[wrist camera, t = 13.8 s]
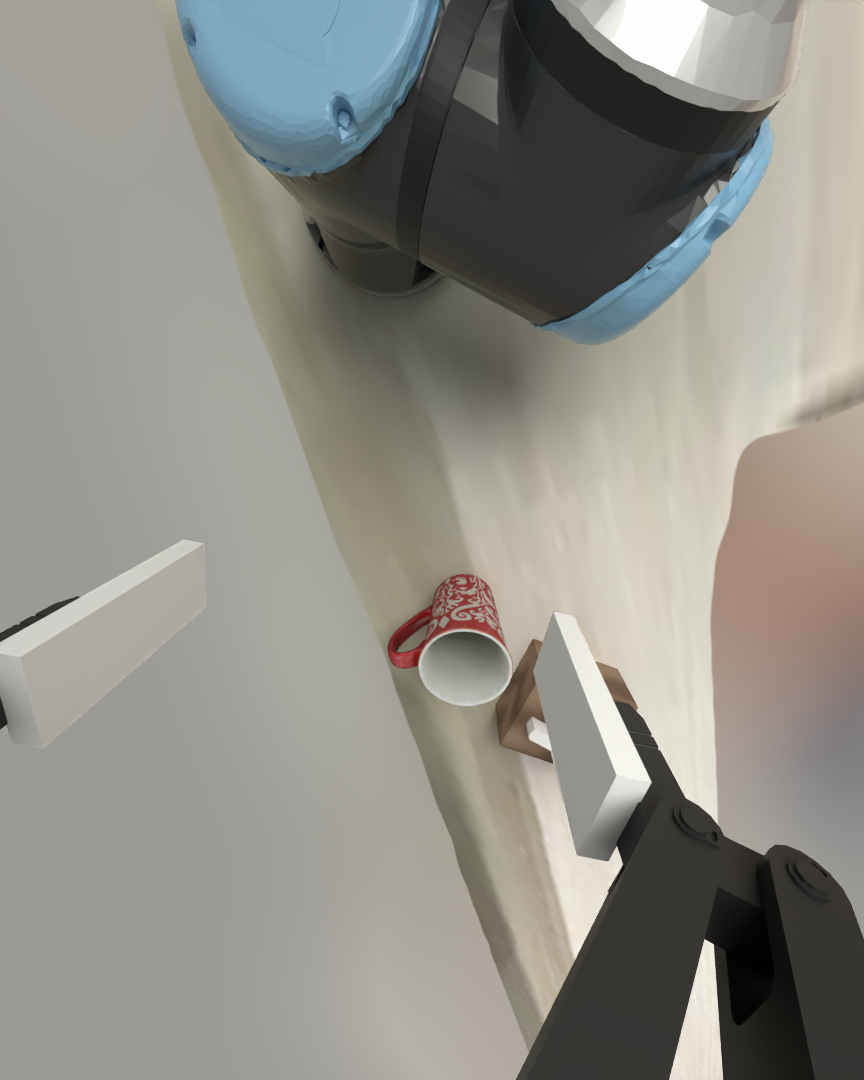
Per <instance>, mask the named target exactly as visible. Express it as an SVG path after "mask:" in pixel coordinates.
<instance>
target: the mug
mask: <svg viewBox="0 0 864 1080" xmlns="http://www.w3.org/2000/svg"><path fill="white" fill-rule="evenodd" d="M428 623H429V626H428V630H427V635H426V639H425V640H423V641H422V643H421V644H420V645H419V646H418V647H416V648H415V649H413V650H411V651H408V652H397V650H398V649H399V647H400V646H401V644H402V643H403V642H404V641H406V640H407V639H408V638H409V637H410V636H411V635H412V634H414V633H415V632H416V631H418V630H419V629H420V628H422V627H423V626H425V625H426V624H428ZM388 655H389V658H390V660H391V662H392V664H393V665H394V666H396V667H399V668H412V667H415V666H418V671H419V675H420V678H421V680H422V682H423V684H424V685H425V687H426V688H427V689H428V691H429V692H430V693H431V694H432V695H434V696H435V697H437V698H438V699H440V700H442V701H444V702H446V703H449V704H453V705H457V706H476V705H481V704H484V703H487V702H489V701H491V700H493V699H495V698H496V697H498V696H499V695H500V694H501V693H502V692H504V690H505V689H506V688H507V686H508V684H509V682H510V680H511V677H512V672H513V664H512V659H511V656H510V654H509V652H508V650H507V648H506V644H505V640H504V637H503V633H502V628H501V626H500V622H499V618H498V614H497V610H496V607H495V603H494V599H493V595H492V592H491V590H490V588H489V586H488V585H487V584H486V583H485V582H484V581H483V580H481V579H479V578H478V577H475V576H472V575H463V574H461V575H456V576H453V577H450V578H448V579H447V580H445V581H444V582H443V583H442V584H441V585H440V586H439V588H438V590H437V592H436V595H435V599H434V603H433V604H432V605H431V606H430V607H428V608H427V609H425V610H423V611H421V612H420V613H418V614H417V615H415V616H414V617H412V618H411V619H410V620H408V621H407V622H406V623H405V624H403V625H402V626H401V627H400V628H399V629H398V630H397V631H396V632H395V633H394V634H393V636H392V637H391V639H390V641H389V644H388Z"/></svg>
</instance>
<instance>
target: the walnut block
mask: <svg viewBox="0 0 864 1080" xmlns="http://www.w3.org/2000/svg"><path fill="white" fill-rule="evenodd" d="M542 644H543V642H541V641H538V640H535V639H533V640H532V642H531V644H530V645H529V647H528V649H527V651H526V653H525V654H524V656H523V658H522V660H521V661H520V663H519V665H518V667H517V669H516V670H515V672H514V674H513V676H512V677H511V680H510V682H509V684H508V686H507V688H506V689H505V690H504V692H503V693H502V695H501V697H500V699H499V701H498V702H497V704H496V711H497V722H498V732H499V742H500V746H503V747H506V748H509V749H512V750H515V751H518V752H521V753H524V754H527V755H530V756H533V757H535V758H538V759H541V760H544V761H547V762H550V763H553V759H552V755H551V751H550V750H548V749H546V748H544V747H542V746H540V745H539V744H537V743H535V742H533V741H531V740H530V739H529V737H528V731H527V726H526V723H527V722H528V721H529V720H530V718H531V717H534V718H536V719H538V720H539V721H541V722H543V723H545V719H544V715H543V711H542V706H541V702H540V698H539V694H538V689H537V685H536V681H535V677H534V673H533V670H534V667H535V664H536V661H537V658H538V656H539V653H540V650H541V647H542ZM595 662H596V661H595ZM596 664H597V667H598V669H599V671H600V673H601V675H602V677H603V679H604V682H605V684H606V686H607V688H608V690H609V692H610V694H611V696H612V699H613V701H618V702H623V703H628V704H630V705H631V706H632V707H633V708H634V709H635V710H637V708H638V707H637V705H636V703H635V701H634V699H633V697H632V695H631V694H630V692H629V690H628V688H627V686H626V684H625V682H624V680H623V679H622V677H621V675H620V673H619V671H618V669H615V668H613V667H610V666H607V665H604V664H602V663H599V662H596ZM545 724H546V723H545ZM553 764H554V763H553Z"/></svg>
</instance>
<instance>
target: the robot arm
mask: <svg viewBox="0 0 864 1080" xmlns="http://www.w3.org/2000/svg"><path fill="white" fill-rule="evenodd" d="M175 1H176V7H177V12H178V17H179V21H180V26H181V30H182V34H183V37H184V40H185V42H186V44H187V47H188V51H189V54H190V56H191V58H192V61H193V63H194V66H195V68H196V71H197V75H198V77H199V79H200V81H201V83H202V85H203V87H204V89H205V91H206V92H207V94H208V96H209V97H210V99H211V100H212V102H213V104H214V105H215V106H216V108H217V109H218V111H219V112H220V113H221V115H222V116H223V118H224V119H225V120H226V122H227V123H228V125H229V127H230V129H231V130H232V131H233V133H234V135H235V136H236V138H237V140H238V141H239V142H240V143H241V144H242V145H243V147H244V149H245V150H246V151H247V153H248V154H250V155H251V156H253V157H254V158H256V159H257V161H258V162H259V163H260V164H261V165H263V166H264V167H266V168H267V169H268V170H269V171H270V172H271V173H272V174H273V176H274V177H275V178H276V179H277V180H278V181H279V182H280V183H281V184H282V185H283V186H284V187H285V188H286V189H287V190H288V192H289V193H290V194H291V195H292V196H293V197H294V198H295V199H296V200H297V201H298V202H299V203H300V204H301V205H302V210H303V214H304V218H305V221H306V224H307V227H308V230H309V232H310V235H311V237H312V239H313V241H314V243H315V245H316V246H317V248H318V250H319V252H320V253H321V255H322V256H323V258H324V259H325V260H326V261H327V263H328V264H329V265H330V266H331V267H332V268H333V269H334V270H335V271H336V272H337V273H338V274H339V275H340V276H341V277H342V278H344V279H345V280H346V281H347V282H348V283H350V284H351V285H353V286H354V287H356V288H357V289H359V290H361V291H363V292H366V293H368V294H371V295H374V296H378V297H385V298H399V297H406V296H410V295H413V294H416V293H419V292H421V291H423V290H425V289H427V288H428V287H430V286H431V285H433V284H434V283H436V282H437V281H438V280H439V279H440V278H441V277H442V276H443V275H445V276H447V277H448V278H450V279H452V280H454V281H456V282H458V283H460V284H461V285H463V286H465V287H467V288H469V289H471V290H473V291H475V292H476V293H478V294H480V295H482V296H484V297H486V298H488V299H489V300H491V301H493V302H495V303H497V304H499V305H501V306H503V307H504V308H506V309H508V310H510V311H512V312H514V313H516V314H517V315H519V316H521V317H523V318H525V319H527V320H529V322H530V323H531V325H533V326H534V327H536V328H537V329H539V328H541V329H542V330H547V331H553V332H555V333H557V334H559V335H561V336H564V337H566V338H568V339H570V340H572V341H574V342H577V343H580V344H587V345H593V344H602V343H605V342H608V341H611V340H613V339H615V338H617V337H619V336H621V335H623V334H625V333H626V332H628V331H630V330H631V329H633V328H634V327H636V326H637V325H638V324H640V323H641V322H642V321H643V320H645V319H646V318H647V317H648V316H650V315H651V314H652V313H653V312H654V311H656V310H657V309H658V308H659V307H660V306H661V305H662V304H663V303H664V302H665V301H667V300H668V299H669V298H670V297H671V296H672V295H673V294H674V293H675V292H676V291H677V290H678V289H679V288H680V287H681V286H682V285H683V284H684V283H685V282H686V281H687V280H688V278H689V277H690V276H691V275H692V274H693V273H694V272H695V271H696V270H697V269H698V267H699V266H700V265H701V264H702V263H703V262H704V261H705V259H706V258H707V257H708V255H709V254H710V253H711V251H710V248H711V246H712V244H713V242H714V241H715V240H716V239H717V238H718V237H719V236H720V235H722V234H723V233H724V232H725V231H726V230H728V229H729V228H730V227H731V226H732V225H733V223H734V222H735V220H736V219H737V217H738V216H739V215H740V213H741V212H742V210H743V209H744V207H745V206H746V205H747V203H748V202H749V200H750V198H751V197H752V195H753V193H754V192H755V190H756V188H757V187H758V185H759V183H760V181H761V179H762V177H763V175H764V173H765V171H766V169H767V166H768V164H769V161H770V157H771V153H772V147H773V138H774V137H773V132H772V130H771V128H770V122H769V118H767V116H768V115H769V113H770V112H771V111H772V110H773V108H774V107H775V106H776V105H777V103H778V102H779V101H780V100H781V98H782V97H783V96H784V95H785V93H786V92H787V90H788V89H789V88H790V86H791V85H792V84H793V82H794V81H795V79H796V76H797V73H798V71H799V64H800V57H801V50H802V44H803V37H804V30H805V23H806V17H807V10H808V4H809V1H810V0H175ZM205 608H206V579H205V552H204V543H199V542H194V541H189V540H182V541H180V542H179V543H177V544H175V545H173V546H171V547H170V548H168V549H166V550H164V551H163V552H161V553H159V554H157V555H155V556H154V557H152V558H150V559H148V560H146V561H145V562H143V563H141V564H139V565H138V566H136V567H134V568H132V569H130V570H129V571H127V572H125V573H123V574H121V575H120V576H118V577H116V578H114V579H112V580H111V581H109V582H107V583H105V584H104V585H102V586H100V587H98V588H96V589H94V590H93V591H91V592H89V593H87V594H86V595H84V596H82V597H78V596H77V597H74V598H71V599H68V600H65V601H62V602H59V603H56V604H53V605H51V606H50V607H48V608H46V609H44V610H42V611H40V612H38V613H37V614H36V615H35V616H31V617H29V618H27V619H25V620H24V621H22V622H20V624H19V625H14V626H12V627H11V628H9V629H7V630H5V631H3V632H1V633H0V729H1V728H3V727H4V726H5V725H7V727H8V731H9V734H10V737H11V741H12V743H16V744H20V745H25V746H30V747H35V748H40V749H43V748H45V747H46V746H47V745H48V744H49V743H50V742H51V741H53V740H54V739H55V738H56V737H57V736H59V735H60V734H61V733H62V732H63V731H64V730H65V729H66V728H68V727H69V726H70V725H71V724H72V723H74V722H75V721H76V720H77V719H78V718H79V717H80V716H81V715H83V714H84V713H85V712H86V711H87V710H88V709H89V708H91V707H92V706H93V705H94V704H95V703H96V702H98V701H99V700H100V699H101V698H102V697H103V696H105V695H106V694H107V693H108V692H109V691H110V690H111V689H113V688H114V687H115V686H116V685H117V684H118V683H120V682H121V681H122V680H123V679H124V678H125V677H126V676H127V675H129V674H130V673H131V672H132V671H133V670H135V669H136V668H137V667H138V666H139V665H140V664H141V663H143V662H144V661H145V660H146V659H147V658H148V657H149V656H150V655H152V654H153V653H154V652H155V651H156V650H157V649H159V648H160V647H161V646H162V645H163V644H164V643H166V642H167V641H168V640H169V639H170V638H171V637H173V636H174V635H175V634H176V633H177V632H178V631H179V630H181V629H182V628H183V627H184V626H185V625H186V624H187V623H189V622H190V621H191V620H192V619H193V618H194V617H195V616H197V615H198V614H199V613H200V612H201V611H202V610H204V609H205ZM533 673H534V677H535V681H536V685H537V689H538V694H539V698H540V702H541V706H542V711H543V715H544V719H545V723H546V727H547V732H548V736H549V740H550V744H551V749H552V753H553V757H554V761H555V765H556V770H557V774H558V778H559V782H560V786H561V791H562V795H563V799H564V803H565V808H566V812H567V816H568V820H569V824H570V829H571V833H572V837H573V841H574V846H575V850H576V854H577V855H578V856H583V857H588V858H594V859H599V860H604V861H609V859H610V857H611V855H612V854H613V852H614V850H615V848H616V846H617V847H618V850H619V853H620V856H621V859H622V862H623V866H622V868H621V869H620V871H619V873H618V874H617V876H616V878H615V880H614V881H613V883H612V885H611V887H610V888H609V890H608V892H609V893H608V895H607V897H606V899H605V901H604V903H603V905H602V907H601V909H600V911H599V913H598V915H597V917H596V919H595V921H594V923H593V925H592V927H591V929H590V931H589V933H588V935H587V937H586V939H585V941H584V943H583V945H582V947H581V949H580V952H579V954H578V956H577V958H576V960H575V962H574V964H573V966H572V968H571V970H570V972H569V974H568V976H567V978H566V980H565V982H564V984H563V986H562V988H561V990H560V992H559V994H558V996H557V998H556V1000H555V1002H554V1004H553V1006H552V1008H551V1010H550V1012H549V1014H548V1016H547V1018H546V1020H545V1022H544V1024H543V1026H542V1028H541V1030H540V1032H539V1034H538V1036H537V1038H536V1040H535V1042H534V1044H533V1046H532V1048H531V1050H530V1052H529V1055H528V1056H527V1059H526V1060H525V1062H524V1064H523V1066H522V1069H521V1071H520V1073H519V1075H518V1077H517V1079H516V1080H669V1077H670V1073H671V1069H672V1066H673V1062H674V1058H675V1054H676V1050H677V1046H678V1042H679V1038H680V1034H681V1030H682V1026H683V1022H684V1018H685V1014H686V1010H687V1006H688V1002H689V998H690V994H691V990H692V986H693V982H694V978H695V974H696V970H697V966H698V962H699V958H700V954H701V950H702V946H703V942H704V939H705V940H707V941H709V942H711V943H713V944H714V953H715V967H716V981H717V996H718V1010H719V1024H720V1039H721V1053H722V1067H723V1080H864V939H863V936H862V933H861V930H860V928H859V925H858V922H857V919H856V917H855V914H854V911H853V908H852V905H851V903H850V901H849V899H848V897H847V896H846V894H845V892H844V890H843V889H842V887H841V886H840V885H839V884H838V883H837V882H836V881H835V879H834V878H833V877H832V876H831V874H830V873H828V872H827V871H826V870H825V869H824V868H823V867H822V866H820V865H819V864H818V863H817V862H816V861H814V860H813V859H812V858H810V857H808V856H807V855H805V854H804V853H802V852H801V851H798V850H796V849H794V848H791V847H789V846H786V845H775V846H773V847H772V848H770V849H769V850H768V851H767V853H766V854H765V855H761V854H759V853H757V852H755V851H753V850H751V849H749V848H747V847H745V846H743V845H741V844H738V843H736V842H734V841H732V840H730V839H728V838H727V837H725V836H724V835H723V833H722V831H721V829H720V827H719V826H718V825H717V823H716V822H715V821H714V820H713V818H712V817H711V816H710V815H709V814H708V813H706V812H705V811H704V810H703V809H702V808H701V807H699V806H698V805H696V804H695V803H693V802H691V801H689V800H688V799H686V798H685V796H684V794H683V792H682V791H681V789H680V787H679V785H678V783H677V781H676V779H675V777H674V776H673V774H672V772H671V770H670V768H669V766H668V764H667V762H666V760H665V759H664V757H663V755H662V753H661V751H660V750H658V745H657V744H656V742H655V740H654V738H653V737H651V732H650V730H649V728H648V727H647V725H646V723H645V721H644V719H643V718H642V717H641V716H640V715H639V714H638V713H637V711H636V710H635V709H634V708H633V707H632V706H631V705H630V704H628V703H623V702H618V701H613V699H612V696H611V694H610V692H609V690H608V688H607V686H606V684H605V682H604V679H603V677H602V675H601V673H600V671H599V669H598V667H597V664H596V662H595V660H594V658H593V656H592V654H591V652H590V649H589V647H588V645H587V643H586V641H585V639H584V637H583V634H582V632H581V630H580V628H579V626H578V624H577V622H576V619H575V617H574V616H572V615H567V614H562V613H556V612H553V614H552V617H551V620H550V623H549V626H548V629H547V632H546V635H545V638H544V641H543V644H542V647H541V650H540V653H539V656H538V658H537V661H536V664H535V667H534V670H533Z"/></svg>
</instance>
